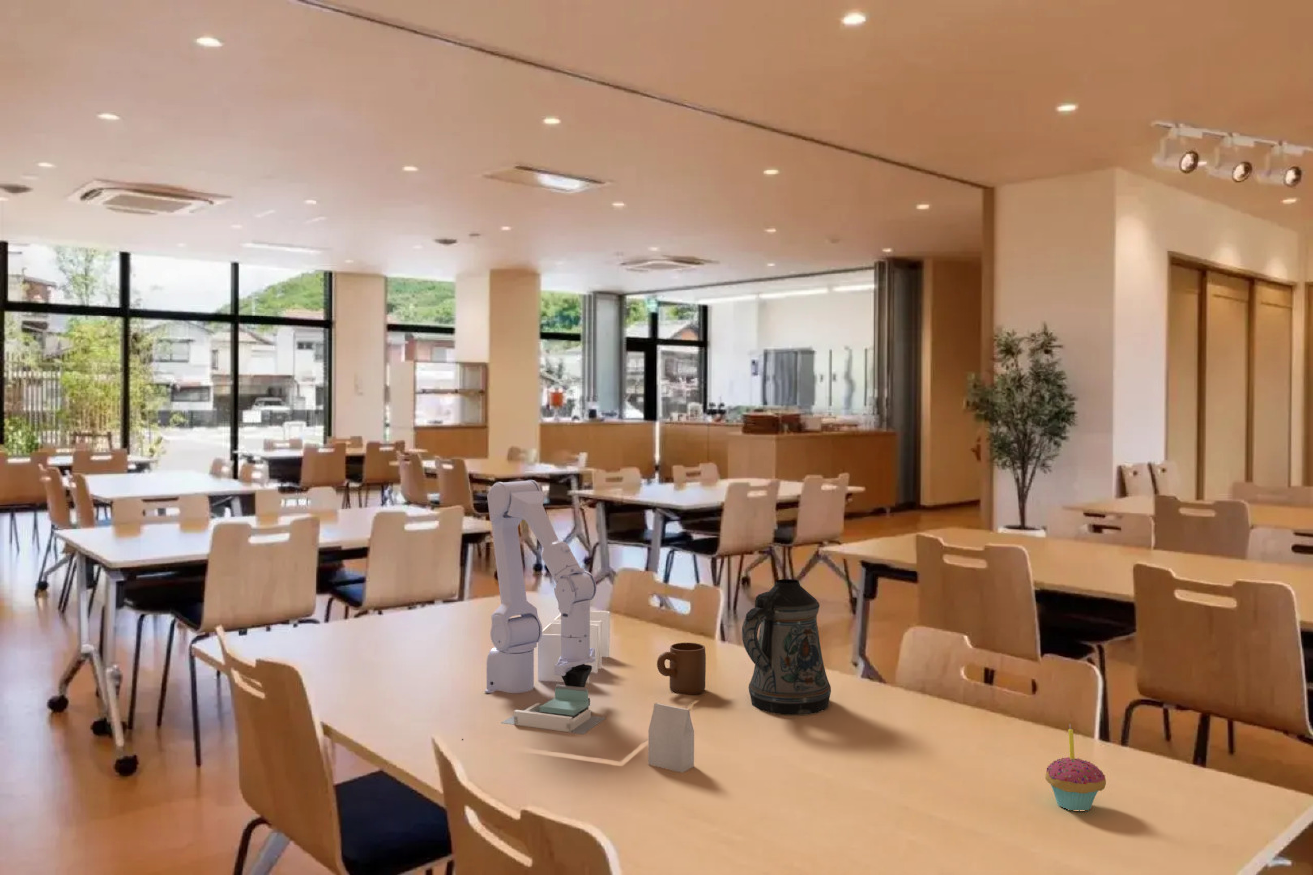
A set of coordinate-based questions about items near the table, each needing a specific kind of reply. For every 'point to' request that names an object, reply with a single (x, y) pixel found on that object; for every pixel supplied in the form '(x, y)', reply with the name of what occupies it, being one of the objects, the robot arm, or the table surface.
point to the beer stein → (786, 652)
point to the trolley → (567, 701)
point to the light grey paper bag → (671, 738)
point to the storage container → (552, 645)
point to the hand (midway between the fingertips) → (575, 702)
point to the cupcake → (1074, 780)
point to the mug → (685, 668)
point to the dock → (554, 720)
